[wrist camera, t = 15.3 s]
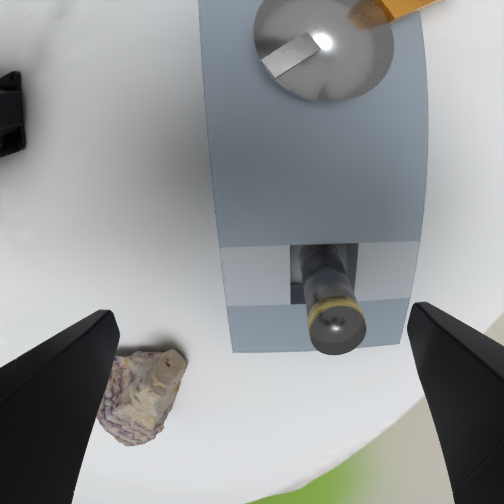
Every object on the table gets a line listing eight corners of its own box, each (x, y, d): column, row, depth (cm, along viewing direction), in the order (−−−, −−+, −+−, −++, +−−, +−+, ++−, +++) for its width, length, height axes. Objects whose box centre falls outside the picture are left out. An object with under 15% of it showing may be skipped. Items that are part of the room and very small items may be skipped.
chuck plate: (236, 330, 24) (232, 352, 22) (204, -36, 13) (196, -52, 11) (390, 323, 23) (399, 343, 21) (394, -32, 12) (407, -46, 10)
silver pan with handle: (229, 30, 13) (222, 16, 11) (425, -61, 9) (442, -77, 7) (306, 126, 15) (313, 128, 13) (487, 22, 11) (512, 16, 8)
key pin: (298, 276, 22) (308, 357, 14) (298, 239, 21) (310, 311, 13) (337, 274, 21) (363, 353, 14) (339, 237, 20) (371, 308, 13)
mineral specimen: (115, 311, 24) (82, 361, 19) (195, 343, 25) (178, 401, 19) (106, 395, 30) (85, 438, 24) (167, 419, 30) (153, 466, 25)
